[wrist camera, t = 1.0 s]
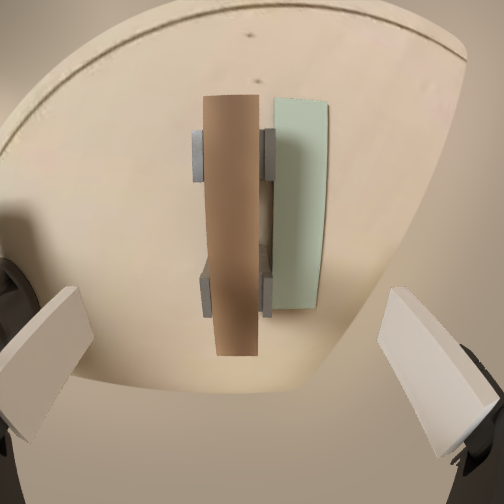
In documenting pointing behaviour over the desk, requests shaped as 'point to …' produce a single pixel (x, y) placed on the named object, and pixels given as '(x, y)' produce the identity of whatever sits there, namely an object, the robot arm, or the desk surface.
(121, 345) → the desk surface
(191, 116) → the desk surface
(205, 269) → the cradle posts
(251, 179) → the rail
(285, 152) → the mat
